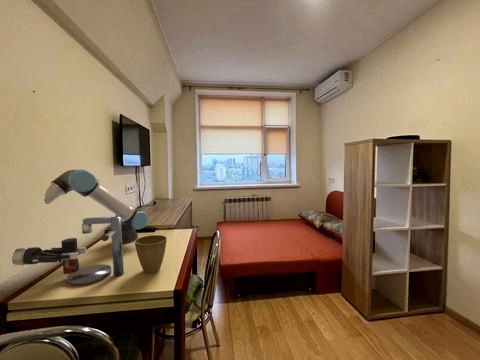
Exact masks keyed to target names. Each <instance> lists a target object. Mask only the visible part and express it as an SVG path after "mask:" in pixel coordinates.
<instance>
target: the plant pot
mask: <svg viewBox="0 0 480 360" xmlns="http://www.w3.org/2000/svg"><path fill="white" fill-rule="evenodd" d="M167 240H168V239H167V236H165V235H161V234H151V235H145V236H141V237H138V239H136V240H135V241H134V246H135V252H136V253H137V254H136V255H137V258H138V261H139V264H140V266H141V269H142V270H143V273H145V274H147V275H149V274H150V275H151V274H155V273H158V272H159V271H161V267H162V264H163V260H164V257H165V253H166V247H167Z"/></svg>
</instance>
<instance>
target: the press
mask: <svg viewBox="0 0 480 360" xmlns="http://www.w3.org/2000/svg"><path fill="white" fill-rule="evenodd" d="M102 224H103V225H105V224H107V225H108V224H110V231H108V232H107V233H104V234H102V235H100V236H101V237H100V240H101V241H103V242H106V241H108V240H109V239H110V238H111V251H112V252H111V253H112V266H113V267H112V266H110V265H109V264H105V263H104V264H102V263H101V264H98V263H97V264H93V265H92V264H91V265H87V266H82V267H81V268H80V267H79V270H78V271H77V272H75V273H72V274H67V275H66V283H67V285H69V286H70V287H71V286H72V287H82V286H88V285H92V284H96V283H98V282H101V281H103V280H105V279H107V278H109V276H110V275H111V274H112V273H113V276H114V277H120V276H123V275H124V274H125V272H124V269H125V268H124V253H123V251H124V250H123V243H122V231H121V217H120V216H116V215H115V216H107V217H106V216H104V217H103V216H101V217H85V218H83V219H82V223H81V234H83V235H86V234H91V233H93V225H102ZM112 268H113V270H112ZM112 271H113V272H112Z"/></svg>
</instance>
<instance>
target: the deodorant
mask: <svg viewBox="0 0 480 360" xmlns="http://www.w3.org/2000/svg"><path fill="white" fill-rule="evenodd" d="M61 247H62V254H63V253H78V248H79V247H78V239H77V238H76V237H71V238H66V239H63V240H61ZM62 268H63V274H64V275H69V274H72V273H75V272H77V271H78V270H79V269H80V264H79V258H78V259H67V260H63V259H62Z"/></svg>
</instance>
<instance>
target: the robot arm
mask: <svg viewBox="0 0 480 360" xmlns="http://www.w3.org/2000/svg"><path fill="white" fill-rule="evenodd" d="M50 183H51V185H48V186H49V188H48V189H47V191H46V194H45V199H44V201H45V203H46V204H48V205H50V204H51V203H53V202H54V201H55V200H56V199H58V198H59V197H61V196H65V195H66V194H68V193H70V192H71V191H74V192H76V193H77V194H79V195H80V196H82V197H83V198H87V197H88V198H90V199H92V200H93V201H95V202H96V203H98V204H100V206H102V207H104V208H105V209H107V210H108V211H109V212H111V213H113V214H114V215H115V217H116V216H120V217H121V231H122V244H128V243H129V244H130V243H134V242H135V240H136V239H138V238H139V235H138V232H137V230H141V229H143V228H145V227H146V225H147V224H148V221H149V216H148V214H147V213H146V212H145V211H141V210H140V209H138V208H136V207H135V206H134V205H129V204H127V203H126V202H124V201H123V200H121V199H120V198H119V197H117V196H116V195H114V194H113V193H112V192H111V191H109V190H108V189H107V188H104V187H103V186H102V185H100V183H101V182H100V180H99V179H97V178H96V176H95V174H94V173H93V172H92V171H89V170H87V169H70V170H67V171H65V172H63V173H61V175H59V176H58V177H56V178H54V180H52V181H50ZM57 185H58V186H57ZM17 248H18V249H16V250H15V252H14V253H13V256H12V262H13V264H15V265H14V266H21V267H23V266H24V265H28V266H29V265H37V264H42V263H43V264H47V263H57V262H59V263H63V260H67V259H78V260H79V259H80V256H79V255H81V254H82V255H83V254H87V247H85V246H84V247H78V253H63V254H62V246H61V247H51V248H50V249H48V248H47V249H44V250H43V249H42V248H41V247H38V246H35V247H17Z"/></svg>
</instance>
